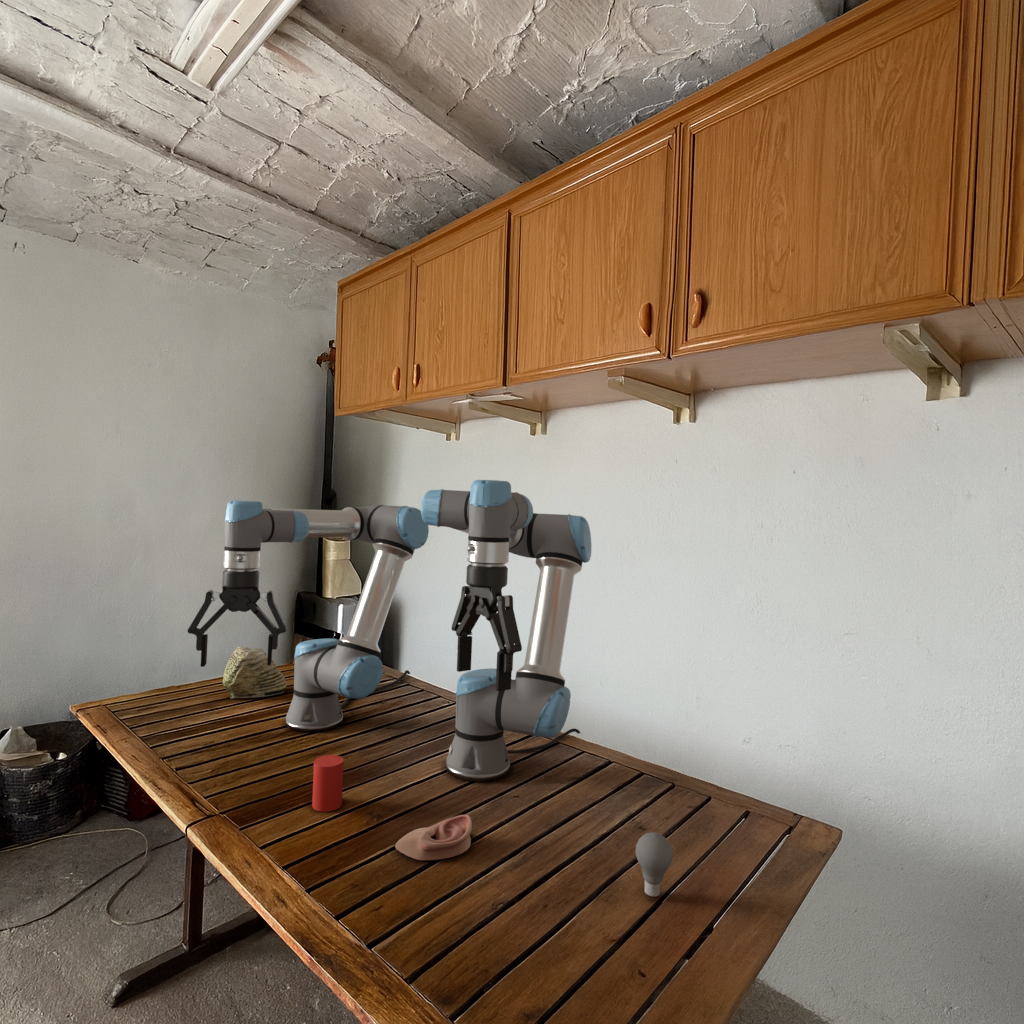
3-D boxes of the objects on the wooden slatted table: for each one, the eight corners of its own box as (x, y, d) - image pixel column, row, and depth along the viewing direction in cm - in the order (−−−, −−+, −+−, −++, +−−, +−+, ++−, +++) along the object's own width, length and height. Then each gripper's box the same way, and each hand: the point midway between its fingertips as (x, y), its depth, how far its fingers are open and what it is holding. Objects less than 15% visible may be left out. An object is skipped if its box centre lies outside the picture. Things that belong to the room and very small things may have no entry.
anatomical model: (389, 833, 113) (412, 803, 124) (388, 855, 113) (411, 823, 124) (460, 844, 110) (477, 813, 121) (459, 867, 110) (476, 833, 121)
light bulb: (629, 883, 108) (632, 825, 107) (663, 883, 108) (666, 825, 108) (639, 906, 102) (642, 844, 101) (675, 905, 102) (678, 844, 102)
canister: (324, 795, 134) (325, 752, 134) (347, 801, 132) (349, 758, 132) (306, 808, 129) (307, 763, 129) (330, 814, 127) (332, 768, 127)
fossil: (218, 695, 195) (220, 647, 195) (278, 685, 208) (279, 640, 207) (228, 703, 189) (230, 653, 188) (289, 692, 201) (290, 645, 201)
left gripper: (175, 570, 134) (171, 670, 134) (299, 572, 141) (295, 667, 141) (183, 566, 141) (178, 661, 141) (300, 568, 148) (296, 659, 149)
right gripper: (437, 557, 124) (432, 665, 124) (509, 573, 103) (503, 702, 104) (470, 557, 128) (465, 661, 129) (545, 571, 108) (539, 695, 108)
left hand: (236, 664), depth 141 cm, fingers open, 13 cm apart
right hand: (482, 679), depth 116 cm, fingers open, 13 cm apart
